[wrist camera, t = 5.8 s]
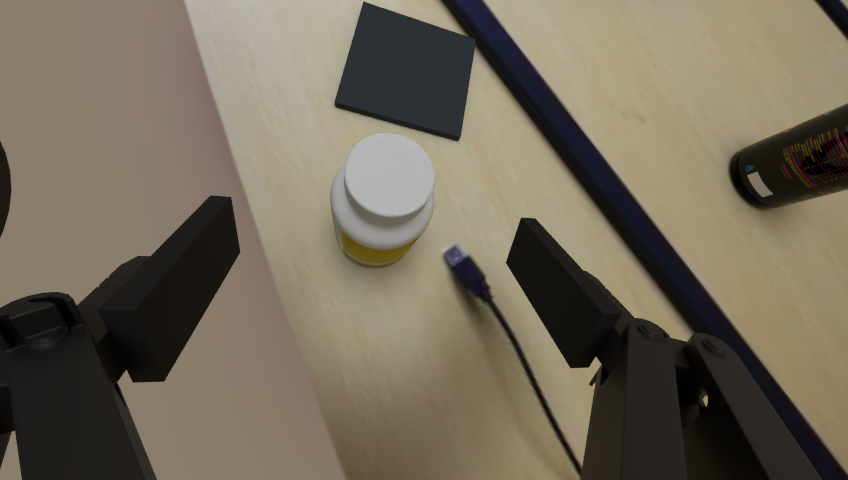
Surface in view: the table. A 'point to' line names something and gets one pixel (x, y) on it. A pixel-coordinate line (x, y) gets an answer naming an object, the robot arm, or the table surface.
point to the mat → (407, 72)
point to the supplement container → (796, 162)
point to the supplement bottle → (382, 199)
